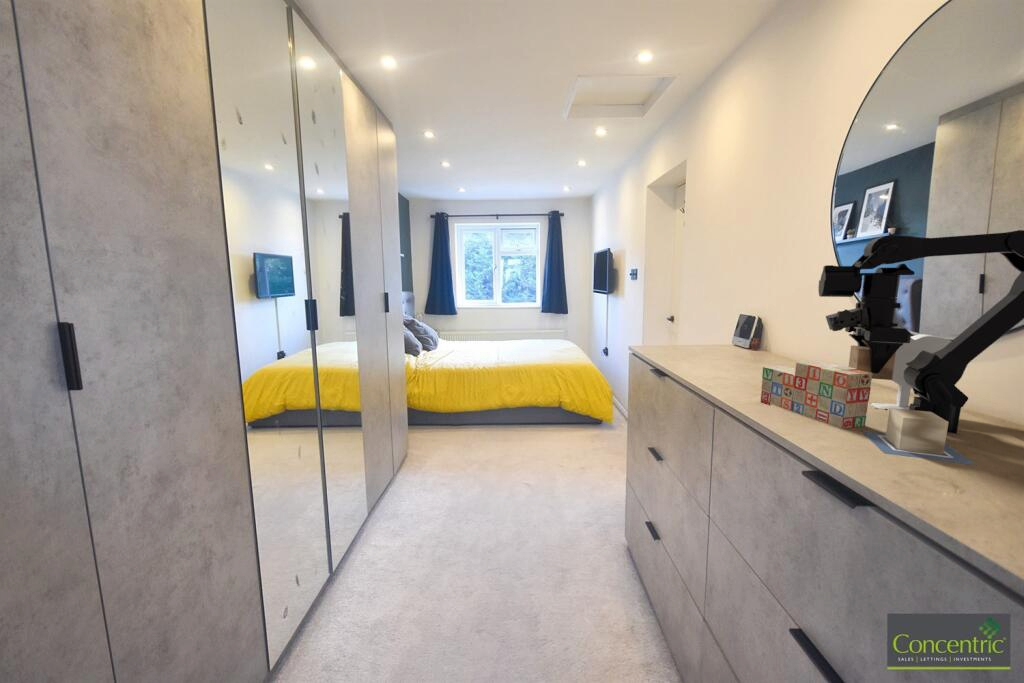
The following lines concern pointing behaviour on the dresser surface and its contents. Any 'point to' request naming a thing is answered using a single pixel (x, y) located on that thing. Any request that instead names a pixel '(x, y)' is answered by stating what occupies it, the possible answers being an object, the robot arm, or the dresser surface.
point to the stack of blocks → (819, 391)
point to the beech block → (916, 431)
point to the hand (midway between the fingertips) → (870, 370)
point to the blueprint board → (889, 448)
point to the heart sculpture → (901, 358)
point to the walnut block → (862, 362)
